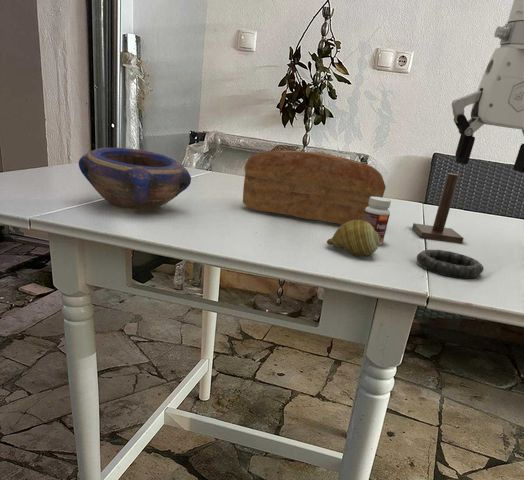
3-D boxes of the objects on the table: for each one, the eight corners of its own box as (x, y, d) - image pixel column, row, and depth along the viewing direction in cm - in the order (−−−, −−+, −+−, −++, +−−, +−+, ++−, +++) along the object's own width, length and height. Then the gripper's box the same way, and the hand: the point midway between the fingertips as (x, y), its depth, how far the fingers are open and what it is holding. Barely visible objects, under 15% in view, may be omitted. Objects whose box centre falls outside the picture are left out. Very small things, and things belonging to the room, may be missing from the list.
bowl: (129, 222, 89) (130, 163, 85) (68, 200, 98) (66, 145, 94) (199, 213, 103) (203, 161, 98) (140, 195, 112) (141, 146, 107)
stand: (450, 233, 117) (467, 174, 111) (462, 243, 109) (481, 180, 103) (412, 228, 117) (427, 168, 111) (421, 237, 109) (438, 174, 103)
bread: (247, 201, 121) (254, 141, 115) (376, 223, 117) (390, 161, 111) (234, 209, 110) (241, 143, 104) (376, 234, 106) (391, 167, 100)
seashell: (327, 269, 93) (320, 241, 86) (333, 239, 96) (327, 209, 89) (381, 271, 90) (378, 242, 83) (385, 240, 93) (383, 209, 86)
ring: (468, 263, 94) (472, 253, 93) (489, 283, 84) (493, 271, 83) (410, 255, 94) (413, 245, 93) (424, 274, 84) (427, 262, 83)
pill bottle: (376, 246, 96) (386, 202, 93) (354, 240, 99) (363, 196, 95) (386, 243, 100) (397, 200, 96) (365, 237, 102) (374, 195, 99)
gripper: (484, 28, 68) (446, 163, 75) (603, 48, 70) (555, 178, 77) (461, 34, 74) (429, 157, 82) (571, 52, 76) (529, 171, 84)
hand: (490, 167), depth 80 cm, fingers open, 9 cm apart
